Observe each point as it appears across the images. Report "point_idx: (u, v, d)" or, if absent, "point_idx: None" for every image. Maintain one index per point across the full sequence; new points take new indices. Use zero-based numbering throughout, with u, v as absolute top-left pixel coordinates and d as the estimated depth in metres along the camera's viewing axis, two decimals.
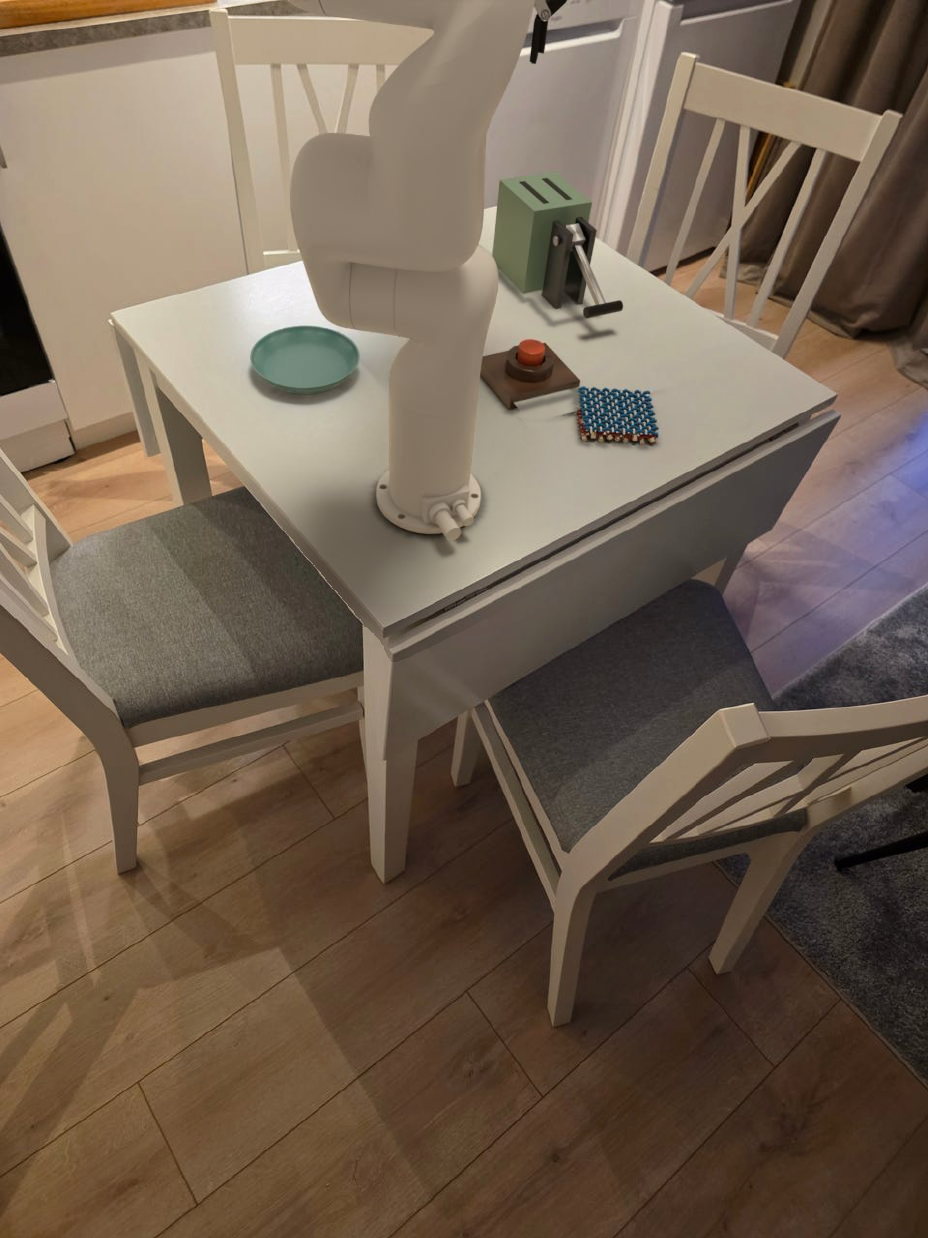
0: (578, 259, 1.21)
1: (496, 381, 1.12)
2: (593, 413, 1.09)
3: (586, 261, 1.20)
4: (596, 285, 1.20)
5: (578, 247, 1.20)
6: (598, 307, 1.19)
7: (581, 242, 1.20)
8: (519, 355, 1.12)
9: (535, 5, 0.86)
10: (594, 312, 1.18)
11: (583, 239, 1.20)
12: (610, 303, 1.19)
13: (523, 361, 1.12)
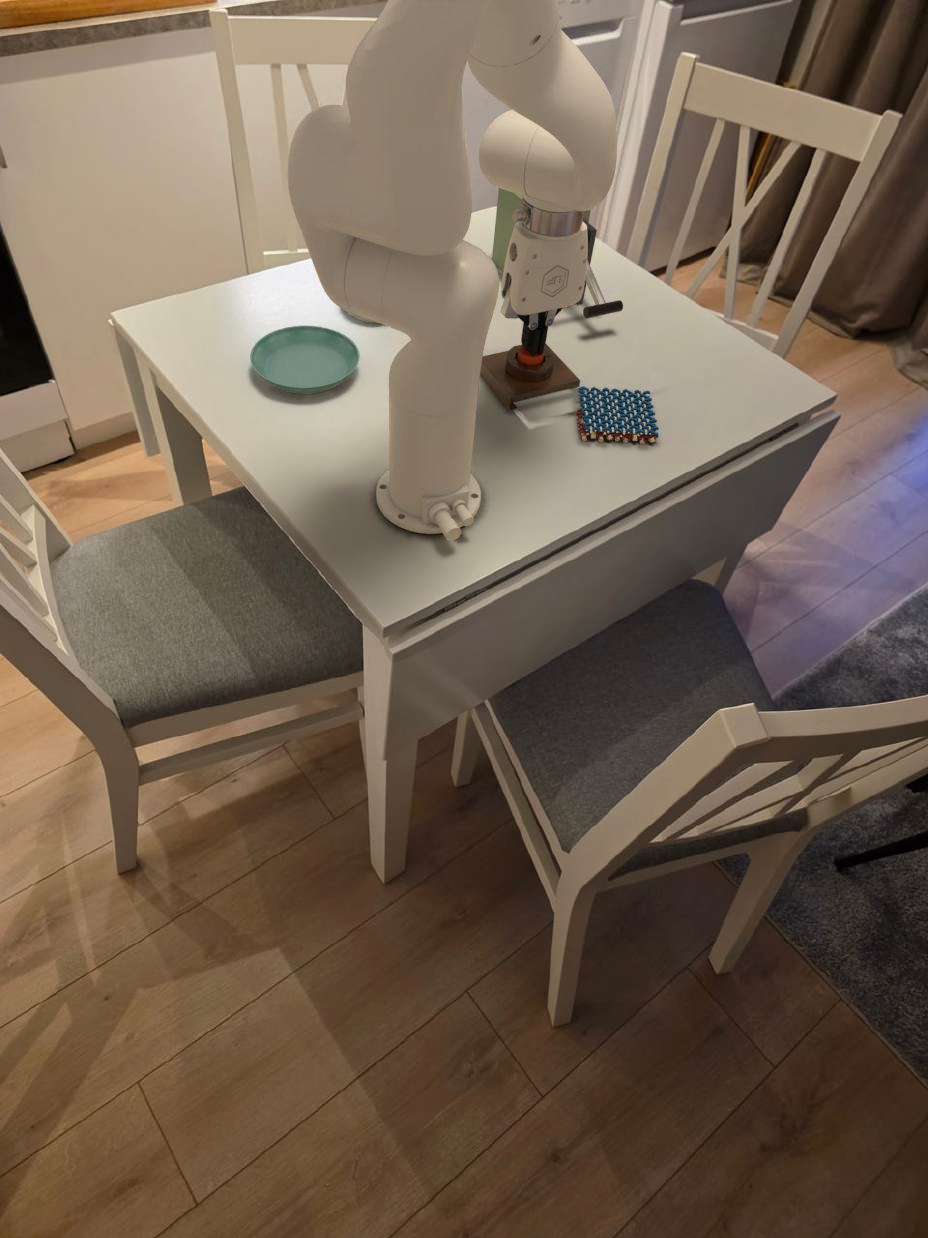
0: None
1: (496, 381, 1.12)
2: (593, 413, 1.09)
3: None
4: (596, 285, 1.20)
5: None
6: (598, 307, 1.19)
7: None
8: (518, 359, 1.12)
9: (549, 313, 1.07)
10: (594, 312, 1.18)
11: None
12: (610, 303, 1.19)
13: None
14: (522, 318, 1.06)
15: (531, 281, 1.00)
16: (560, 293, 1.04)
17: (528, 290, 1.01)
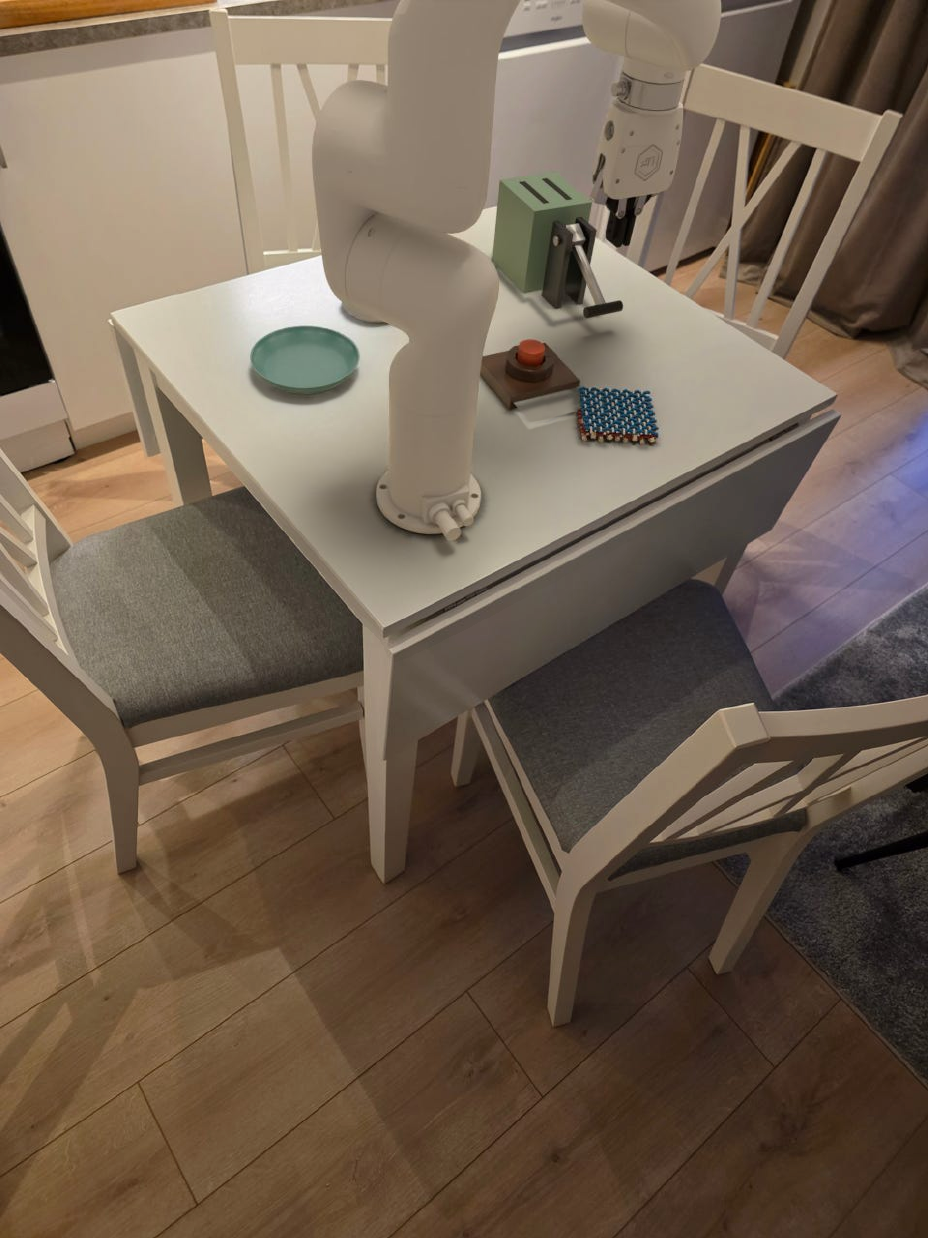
0: (578, 259, 1.21)
1: (496, 381, 1.12)
2: (593, 413, 1.09)
3: (586, 261, 1.20)
4: (596, 285, 1.20)
5: (578, 247, 1.20)
6: (598, 307, 1.19)
7: (581, 242, 1.20)
8: (519, 355, 1.12)
9: (638, 201, 1.07)
10: (594, 312, 1.18)
11: (583, 239, 1.20)
12: (610, 303, 1.19)
13: (523, 361, 1.12)
14: (611, 205, 1.06)
15: (626, 161, 1.00)
16: (652, 177, 1.03)
17: (622, 171, 1.01)
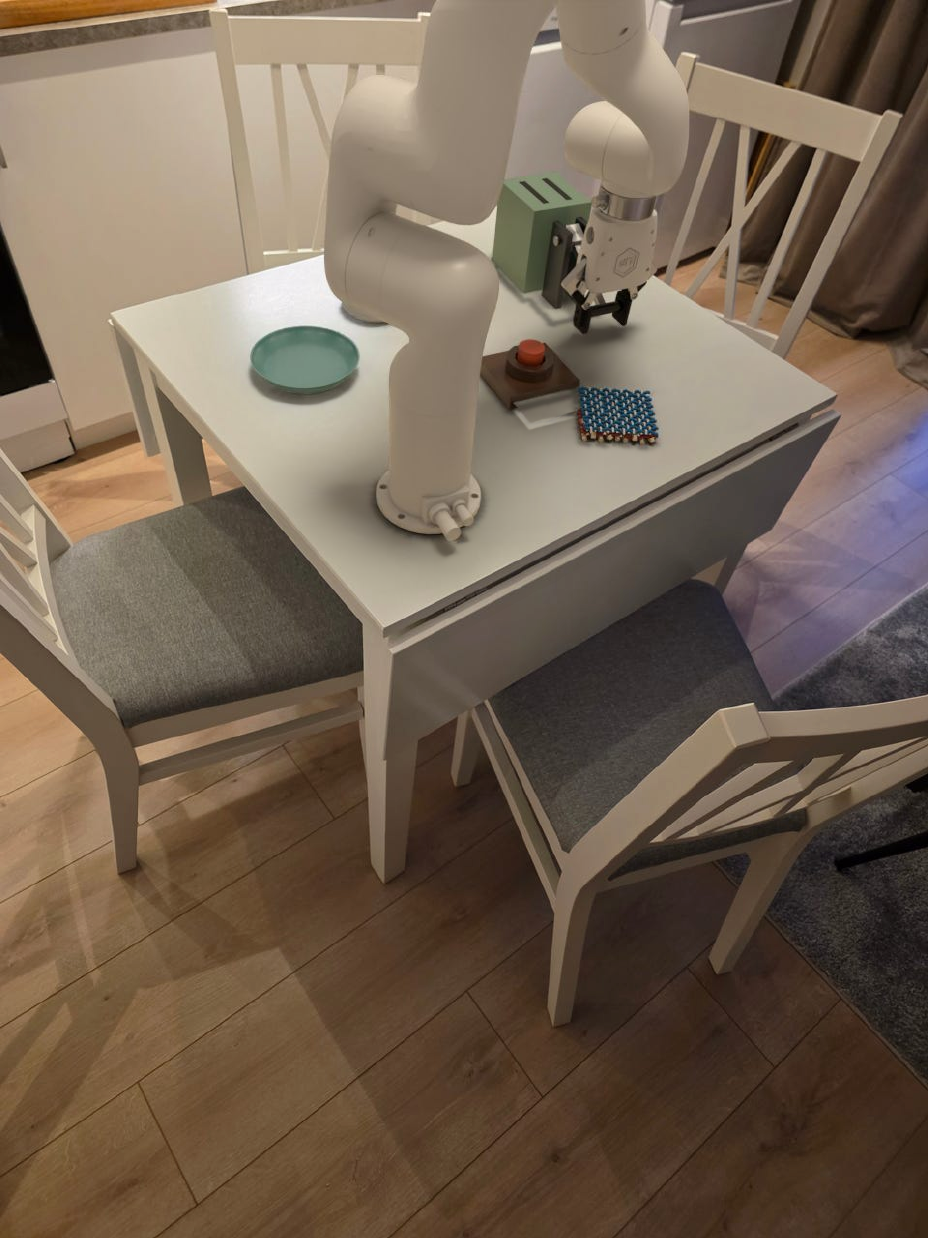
0: None
1: (496, 381, 1.12)
2: (593, 413, 1.09)
3: None
4: None
5: (578, 247, 1.20)
6: (598, 307, 1.19)
7: None
8: (519, 355, 1.12)
9: (631, 290, 1.18)
10: (594, 312, 1.18)
11: None
12: (610, 303, 1.19)
13: (523, 361, 1.12)
14: (576, 298, 1.15)
15: (605, 262, 1.10)
16: (630, 274, 1.13)
17: (602, 271, 1.11)
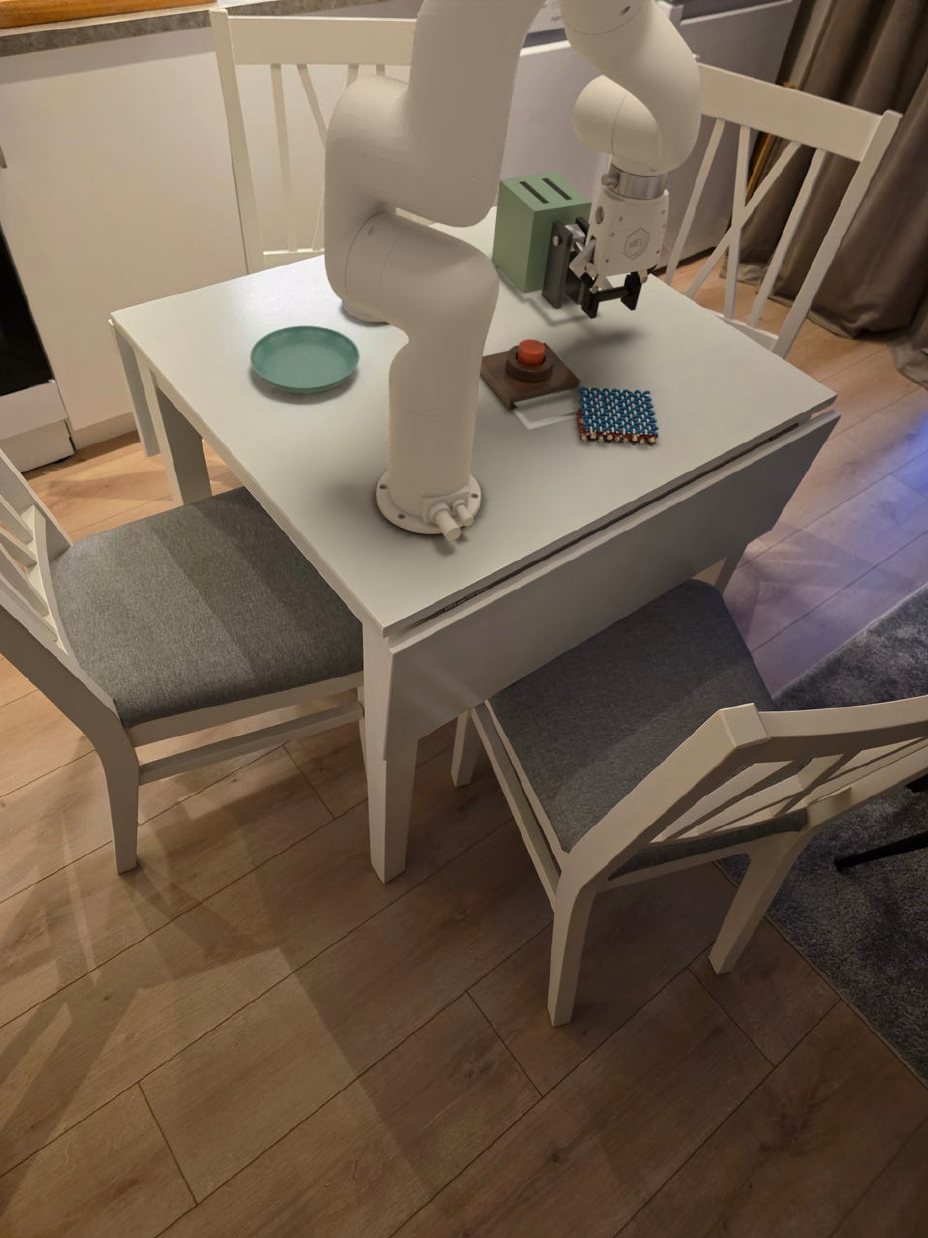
0: None
1: (496, 381, 1.12)
2: (593, 413, 1.09)
3: None
4: None
5: (579, 244, 1.20)
6: (605, 290, 1.16)
7: (581, 239, 1.20)
8: (519, 355, 1.12)
9: (640, 273, 1.15)
10: (602, 295, 1.15)
11: (583, 236, 1.20)
12: (618, 287, 1.17)
13: (523, 361, 1.12)
14: (585, 281, 1.12)
15: (615, 243, 1.07)
16: (640, 256, 1.10)
17: (611, 252, 1.08)
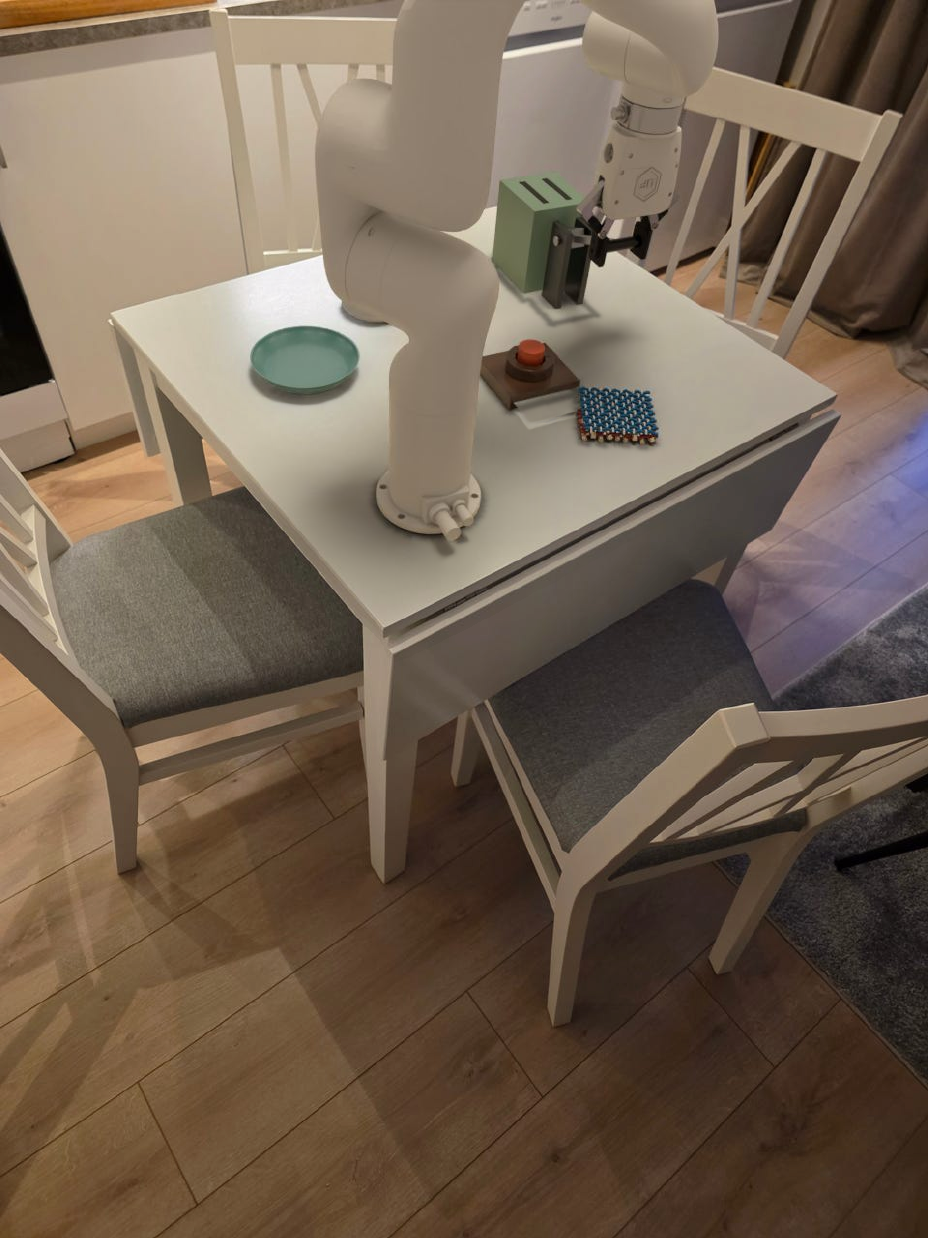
0: (582, 240, 1.18)
1: (496, 381, 1.12)
2: (593, 413, 1.09)
3: None
4: None
5: (579, 235, 1.19)
6: (612, 239, 1.11)
7: (581, 232, 1.20)
8: (519, 355, 1.12)
9: (651, 219, 1.09)
10: (609, 242, 1.10)
11: (581, 228, 1.20)
12: (625, 237, 1.12)
13: (523, 361, 1.12)
14: (592, 225, 1.06)
15: (625, 182, 1.02)
16: (651, 198, 1.05)
17: (621, 192, 1.03)
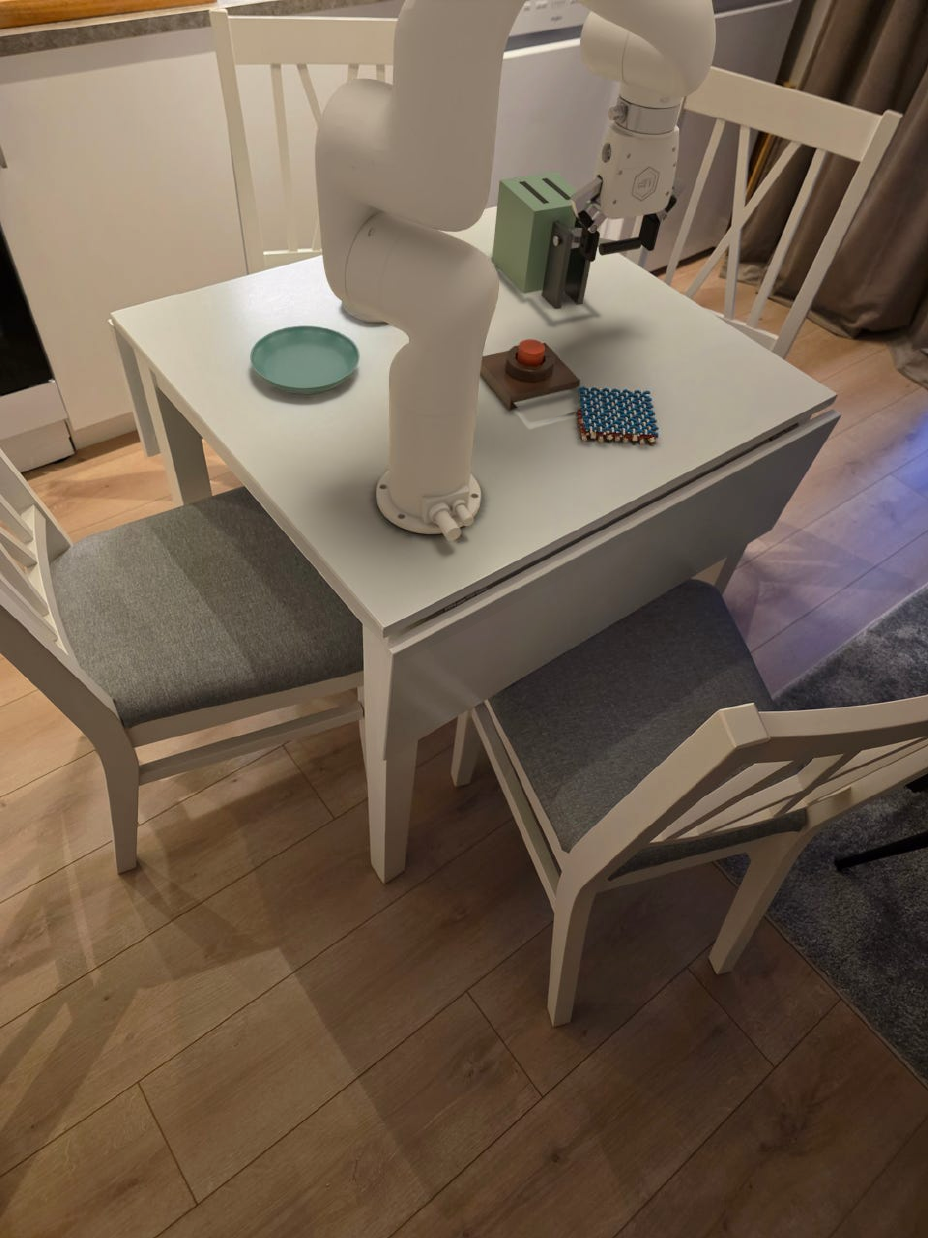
0: None
1: (496, 381, 1.12)
2: (593, 413, 1.09)
3: None
4: (606, 239, 1.14)
5: (579, 235, 1.19)
6: (612, 241, 1.11)
7: None
8: (519, 355, 1.12)
9: (657, 213, 1.09)
10: (609, 244, 1.10)
11: (581, 229, 1.20)
12: (625, 239, 1.12)
13: (523, 361, 1.12)
14: (583, 219, 1.06)
15: (623, 182, 1.02)
16: (649, 197, 1.05)
17: (619, 192, 1.03)
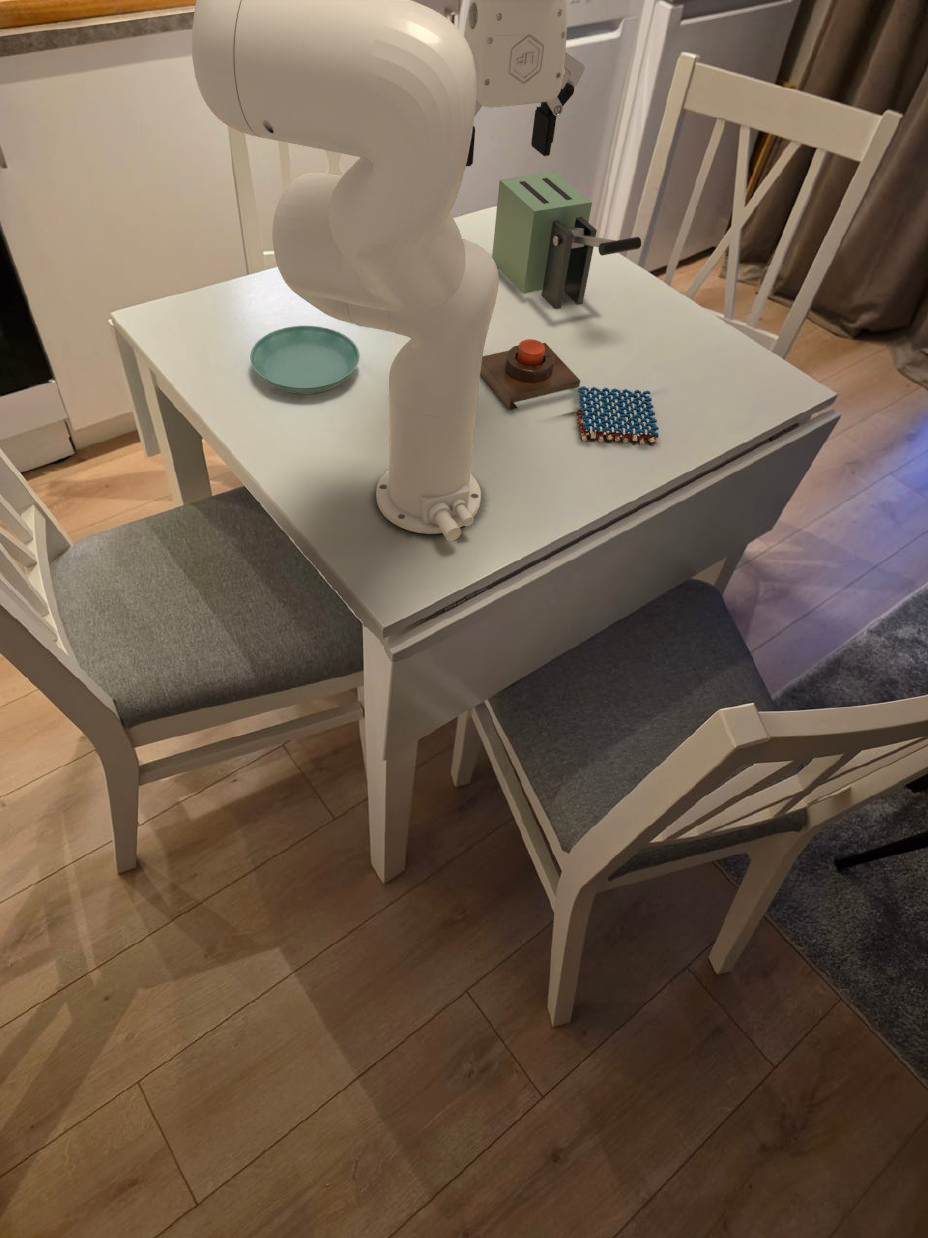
0: (582, 241, 1.18)
1: (496, 381, 1.12)
2: (593, 413, 1.09)
3: (590, 236, 1.17)
4: (606, 239, 1.14)
5: (579, 235, 1.19)
6: (612, 241, 1.11)
7: (581, 233, 1.20)
8: (519, 355, 1.12)
9: (549, 104, 0.87)
10: (609, 244, 1.10)
11: (581, 229, 1.20)
12: (625, 239, 1.12)
13: (523, 361, 1.12)
14: None
15: (496, 55, 0.80)
16: (533, 79, 0.83)
17: (492, 69, 0.81)
